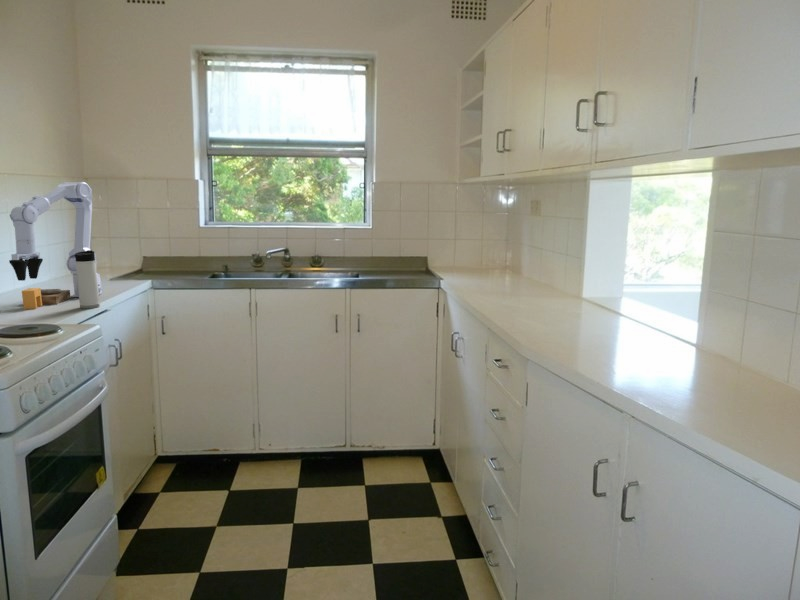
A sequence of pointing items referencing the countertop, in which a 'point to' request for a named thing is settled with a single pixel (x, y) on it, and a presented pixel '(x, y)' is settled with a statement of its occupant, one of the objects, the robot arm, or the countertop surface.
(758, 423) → the countertop surface
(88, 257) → the travel mug
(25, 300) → the orange notched block
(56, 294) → the square wooden frame
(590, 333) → the countertop surface
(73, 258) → the robot arm
